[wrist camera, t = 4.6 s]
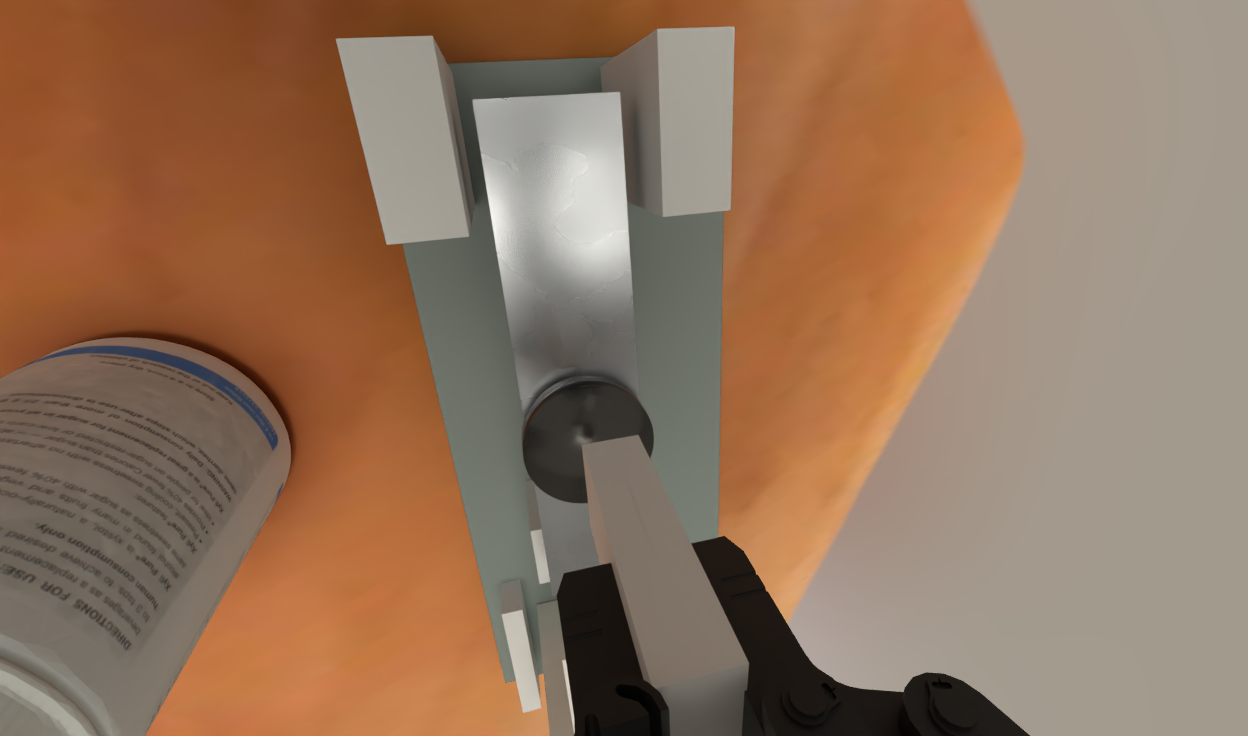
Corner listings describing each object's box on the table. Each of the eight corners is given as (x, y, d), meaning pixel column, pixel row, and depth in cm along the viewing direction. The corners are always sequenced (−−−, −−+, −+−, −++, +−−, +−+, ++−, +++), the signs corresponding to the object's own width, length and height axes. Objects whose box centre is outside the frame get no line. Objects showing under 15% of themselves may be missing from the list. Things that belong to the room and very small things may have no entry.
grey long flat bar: (466, 104, 15) (462, 96, 13) (616, 96, 16) (636, 87, 14) (544, 571, 22) (550, 617, 20) (645, 548, 23) (661, 590, 20)
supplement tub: (-22, 331, 19) (-1218, 775, 6) (276, 327, 21) (-77, 638, 8) (70, 544, 22) (-517, 1112, 9) (315, 521, 25) (120, 952, 12)
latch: (523, 532, 26) (535, 667, 19) (638, 508, 27) (687, 628, 21) (545, 655, 30) (562, 803, 23) (646, 629, 31) (690, 763, 24)
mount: (368, 71, 18) (285, 23, 11) (713, 56, 21) (840, 9, 13) (504, 664, 31) (510, 830, 24) (709, 612, 34) (772, 748, 26)
